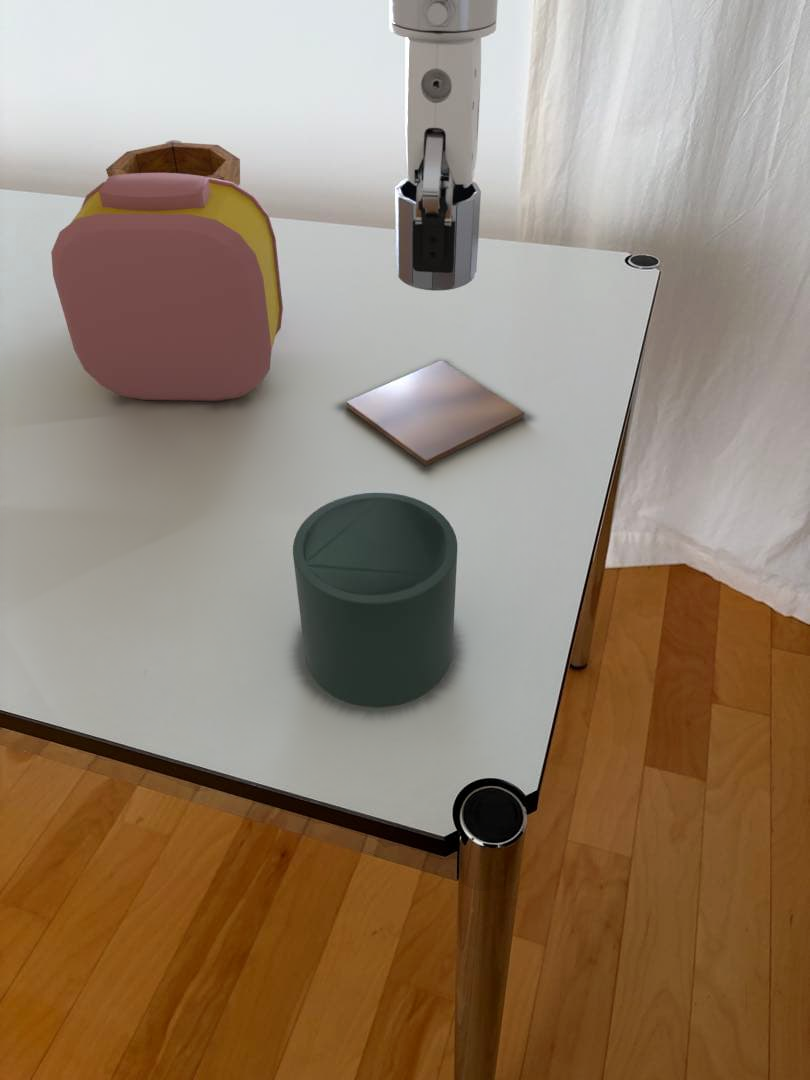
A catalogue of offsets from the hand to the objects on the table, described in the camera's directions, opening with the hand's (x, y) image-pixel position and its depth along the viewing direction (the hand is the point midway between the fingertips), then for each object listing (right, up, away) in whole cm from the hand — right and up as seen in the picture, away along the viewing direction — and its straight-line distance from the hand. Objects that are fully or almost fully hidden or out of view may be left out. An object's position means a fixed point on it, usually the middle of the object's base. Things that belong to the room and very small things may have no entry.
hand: (437, 248), depth 74 cm
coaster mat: (0, -12, +11) cm, 16 cm away
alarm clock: (-24, -8, +16) cm, 30 cm away
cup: (0, -2, +1) cm, 2 cm away
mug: (-27, +5, +30) cm, 41 cm away
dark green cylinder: (-5, -32, -11) cm, 34 cm away
